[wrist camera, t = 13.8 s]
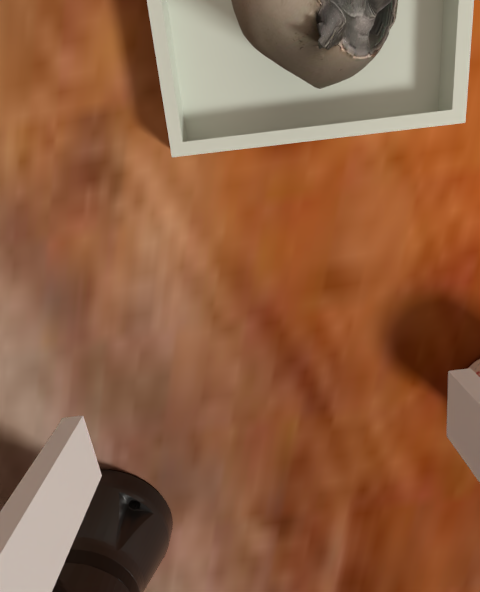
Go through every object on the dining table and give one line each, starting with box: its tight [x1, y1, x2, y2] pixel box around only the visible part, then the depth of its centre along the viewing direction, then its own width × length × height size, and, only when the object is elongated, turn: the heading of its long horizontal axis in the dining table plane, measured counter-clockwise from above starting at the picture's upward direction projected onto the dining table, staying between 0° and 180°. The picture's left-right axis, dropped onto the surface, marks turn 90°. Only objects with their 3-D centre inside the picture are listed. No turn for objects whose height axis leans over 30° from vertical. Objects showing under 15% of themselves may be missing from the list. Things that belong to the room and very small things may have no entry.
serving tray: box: [147, 0, 474, 157], centre depth 30 cm, size 22×17×4 cm
